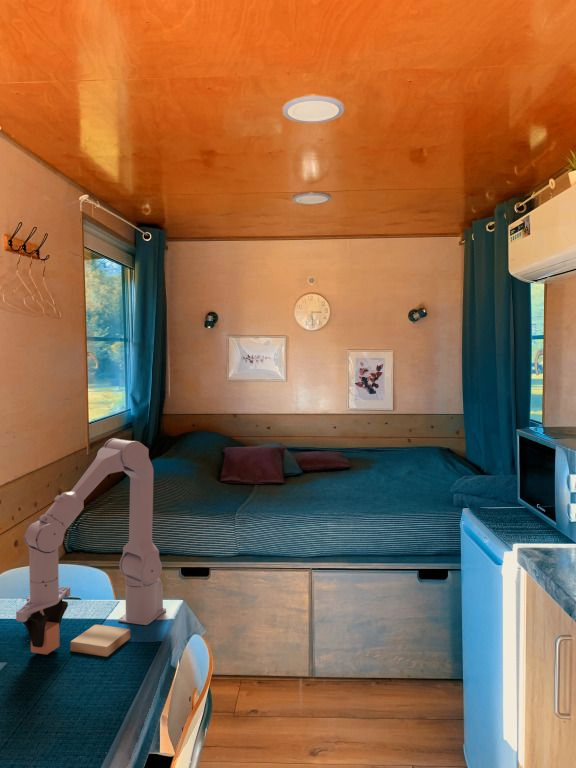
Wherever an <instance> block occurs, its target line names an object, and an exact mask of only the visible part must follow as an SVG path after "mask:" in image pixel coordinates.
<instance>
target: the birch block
mask: <svg viewBox="0 0 576 768" xmlns="http://www.w3.org/2000/svg"><path fill="white" fill-rule="evenodd" d="M130 639H131V629H130V628H124V627H117V626H110V625H103V624H94V625H92V626H90V628H88V629H87V630H85V631H84V632H82V633H81V634H79V635H77V637H75V638H74V639H72V640H70V652H76V653H83V654H87V655H95V656H101V657H109V656H110V655H111V654H113V653H114V652H115V651H116V650H117V649H119V648H120V647H121V646H122V645H123V644H125V643H126V642H127V641H128V640H130Z"/></svg>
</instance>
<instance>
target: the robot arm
mask: <svg viewBox="0 0 576 768" xmlns="http://www.w3.org/2000/svg"><path fill="white" fill-rule="evenodd" d="M149 450H150V449H149V448H148V447H147V446H145V445H144V444H143V443H141V441H137V440H127V439H120V438H117V437H116V438H115V437H113V438H110V439H108V440H107V441H106V442H105V443H104V444H103V446H102V447H101V448H100V449H98V451H97V453H96V457H95V459H94V460H93V461H92V463H91V464H90V465H89V466H88V468H87V469H86V471H85V472H84V473H83V474H82V476H81V477H80V479H79V480H78V481H77V483H76V484H75V485H74V486H73V488H72V489H71V490H70V491H65V492H62V493H61V494H58V495H56V497H54V502H53V503H52V504H51V506H50V507H49V508H48V509H47V510H46V511H45V512H44V514H41V515H40V517H39V518H38V519H39V520H36V521H35V522H33V523H30V524H29V526H28V527H27V529H26V532H25V535H23V541H24V544H26V546H27V547H28V552H29V553H28V556H29V557H28V560H29V561H28V563H29V567H28V568H29V569H28V570H29V596H28V597H27V598H26V602H25V604H24V605H23V606H22V607H21V608H19V610H17V611H15V612H16V613H15V620H16V621H17V622H20V623H23V625H24V627H25V628H26V630H27V633H28V635H29V638H30V643H31V642H32V645H33V647H42V646H43V643H44V631H45V625H46V622H47V621H48V622H54V623H59V628H61V627H60V626H61V623H62V620H63V617H64V614H65V613H66V610H67V608H68V606H69V602H68V601H66V600H63V599H64V598H69V597H70V596H71V587H70V586H61V587H59V585H60V582H59V580H60V579H59V577H60V576H59V575H60V574H59V547H60V546H62V544H63V543H64V539H65V533H66V531H67V530H68V528H69V527H70V526H71V524H72V523H73V522H74V521H75V520H76V519H77V517H78V516H79V515H80V514H81V512H82V511H83V510H84V507H85V506H84V500H86V498H87V497H88V496H89V495H90V494H91V493H92V492H93V491H94V490H95V489H96V487H97V486H99V484H100V483H101V482H102V481H103V480H104V479H105V478H107V476H108V475H110V474H114V473H119V472H124V473H125V474H126V475H127V476H129V514H128V515H129V519H128V520H129V521H128V522H129V523H128V524H129V525H128V527H129V528H128V542H127V543H126V544H124V546H123V548H122V556H121V557H120V560H119V566H118V567H119V571H120V572H121V574H122V575H124V580H125V581H124V582H125V585H124V586H125V614H124V615H123V614H122V616H121V617H119V618H118V619H117V621H118V622H120V623H128V624H135V625H141V626H143V625H144V626H148V625H149V624H151V623H152V622H154V620H156V619H157V618H158V617H160V616H161V615H162V614H163V613H164V612H166V611H167V608H166V607H164V601H163V600H164V596H163V595H164V593H163V592H164V591H163V590H164V589H163V588H164V585H163V582H162V581H161V580H162V579H160V577H161V574H162V571H163V564H162V561H161V559H160V550H159V549H158V547H157V546H156V545H155V543H154V541H153V516H154V515H153V513H154V467H153V464H152V462H151V459H150V456H149ZM41 610H43V612H44V615H42V613H40V611H41Z"/></svg>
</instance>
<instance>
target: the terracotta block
mask: <svg viewBox="0 0 576 768" xmlns="http://www.w3.org/2000/svg"><path fill="white" fill-rule="evenodd" d="M59 647H60V627H59V623H54V622H48V621H47V622H46V625H45V631H44V643H43V646H42V647H33V645H32V642H31V641H30V652H31V653H35V654H40V655H49V654H50V653H52V652H53V651H55V650H56V649H57V648H59Z"/></svg>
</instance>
